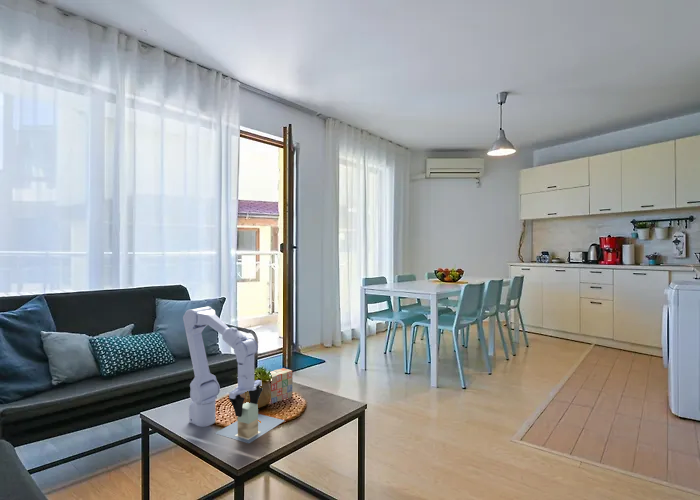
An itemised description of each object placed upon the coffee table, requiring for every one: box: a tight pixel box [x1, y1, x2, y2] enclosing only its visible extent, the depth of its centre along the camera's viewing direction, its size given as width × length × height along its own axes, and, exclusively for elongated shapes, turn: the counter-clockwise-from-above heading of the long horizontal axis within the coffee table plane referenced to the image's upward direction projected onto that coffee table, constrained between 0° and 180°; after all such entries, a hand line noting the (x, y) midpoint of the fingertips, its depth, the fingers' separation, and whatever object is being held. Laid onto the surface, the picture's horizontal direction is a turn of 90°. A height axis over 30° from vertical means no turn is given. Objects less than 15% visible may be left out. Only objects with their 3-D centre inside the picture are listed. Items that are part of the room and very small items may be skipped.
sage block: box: [237, 402, 259, 424], centre depth 141 cm, size 5×5×5 cm
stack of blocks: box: [269, 367, 294, 405], centre depth 172 cm, size 21×6×12 cm, turn 142°
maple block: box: [237, 419, 258, 438], centre depth 141 cm, size 5×5×5 cm
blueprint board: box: [214, 413, 286, 444], centre depth 147 cm, size 16×20×1 cm
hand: (246, 412), depth 142 cm, fingers open, 7 cm apart
